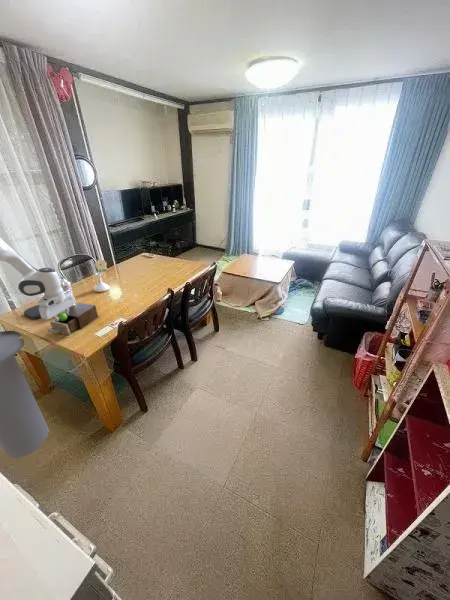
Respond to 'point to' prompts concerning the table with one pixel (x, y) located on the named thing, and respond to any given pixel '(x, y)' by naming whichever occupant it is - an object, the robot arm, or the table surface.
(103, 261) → the flower in vase
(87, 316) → the cabinet
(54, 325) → the drawer
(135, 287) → the table surface
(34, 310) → the media streaming box
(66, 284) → the water bottle
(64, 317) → the lime
